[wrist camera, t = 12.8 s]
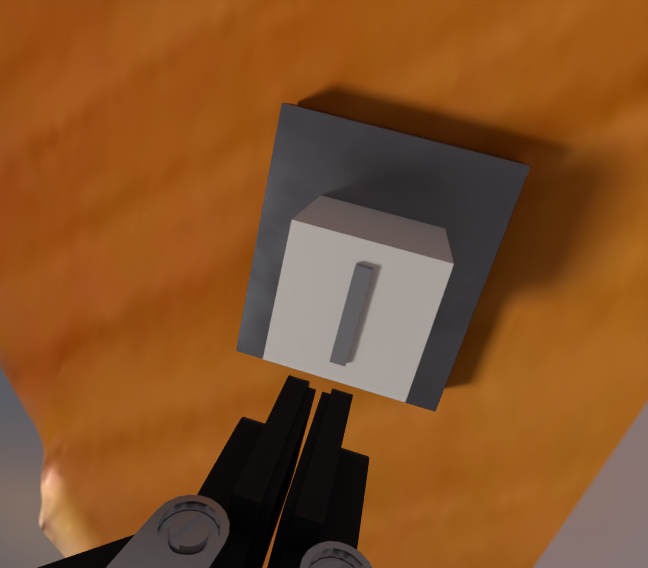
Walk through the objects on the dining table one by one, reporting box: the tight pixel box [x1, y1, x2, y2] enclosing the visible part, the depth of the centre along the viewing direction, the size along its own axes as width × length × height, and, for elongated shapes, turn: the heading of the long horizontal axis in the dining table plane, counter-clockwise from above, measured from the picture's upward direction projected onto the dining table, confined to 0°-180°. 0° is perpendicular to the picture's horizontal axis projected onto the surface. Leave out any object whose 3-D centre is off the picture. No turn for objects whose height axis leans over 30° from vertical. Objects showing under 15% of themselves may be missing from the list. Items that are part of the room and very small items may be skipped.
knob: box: [263, 195, 454, 402], centre depth 22 cm, size 6×6×6 cm
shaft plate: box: [236, 103, 530, 411], centre depth 24 cm, size 14×12×6 cm
